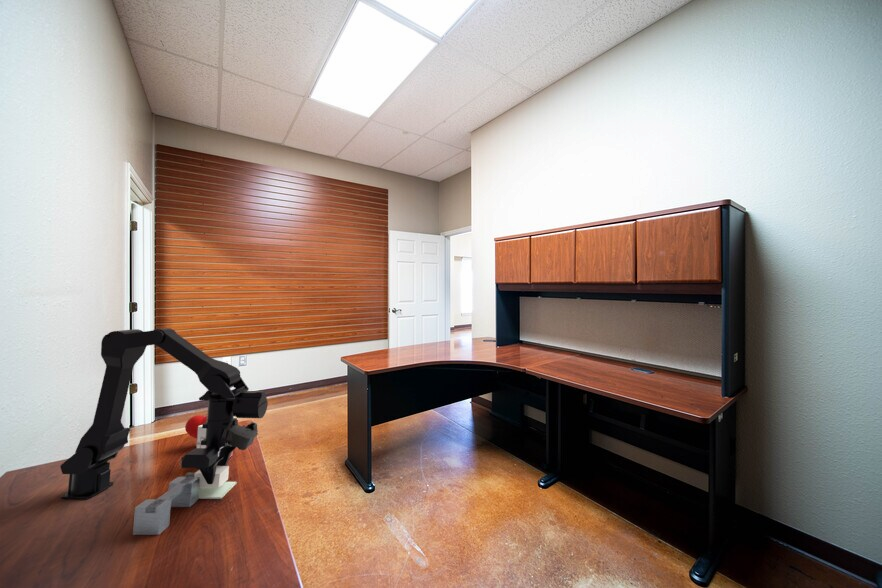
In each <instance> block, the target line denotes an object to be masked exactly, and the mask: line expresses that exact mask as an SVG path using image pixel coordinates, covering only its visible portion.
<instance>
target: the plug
mask: <svg viewBox="0 0 882 588" xmlns="http://www.w3.org/2000/svg"><path fill="white" fill-rule="evenodd" d="M229 471H230V466H229V465H227V466H217V468H216V473H215V477H214V481H213V483H212V484H207V482H206V480H205V478H204V477H203V475H202V473H201V471H200V470H199V469H198V470H197V471H196V472H186V473H185V475H184V477H200V482H199V489H201V488H219V487H220V486H221V485H222V484H223V483H225V482H228V480H229Z"/></svg>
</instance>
